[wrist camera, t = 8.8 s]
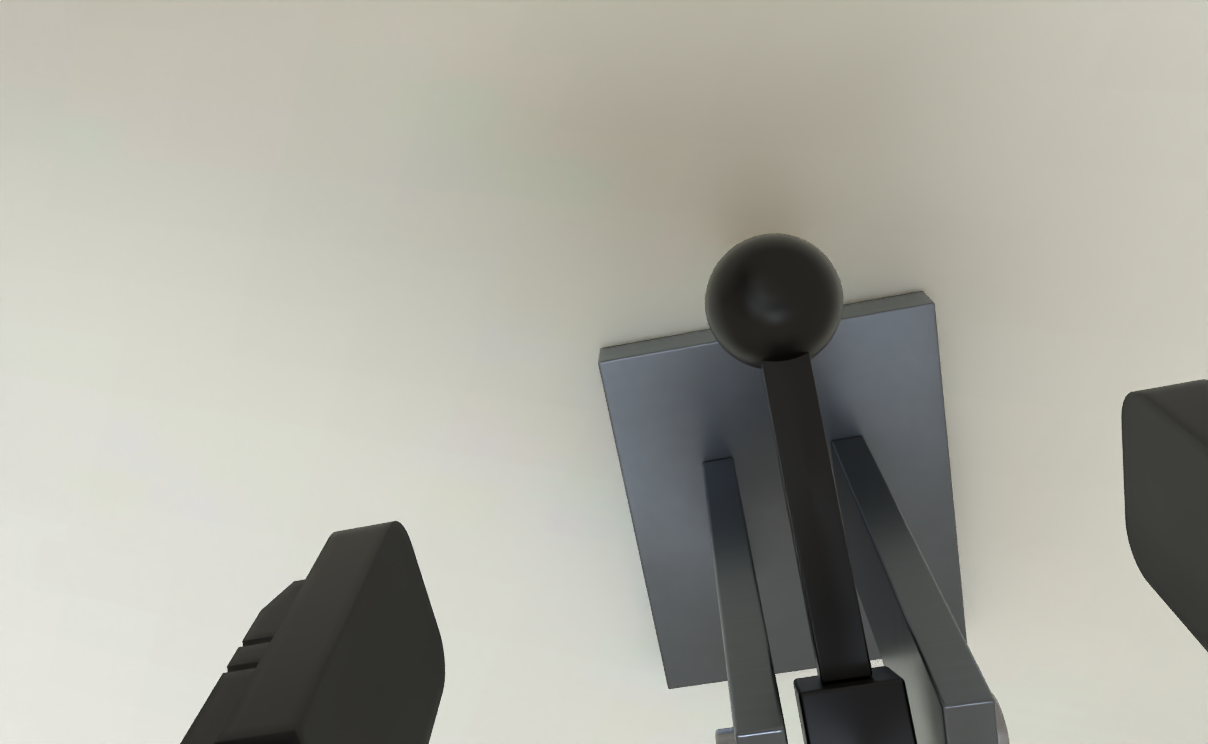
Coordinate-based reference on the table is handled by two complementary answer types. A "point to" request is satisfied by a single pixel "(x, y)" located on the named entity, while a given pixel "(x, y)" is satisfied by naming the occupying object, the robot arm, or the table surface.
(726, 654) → the lever bracket
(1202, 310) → the table surface
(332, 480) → the table surface
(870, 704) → the press lever
